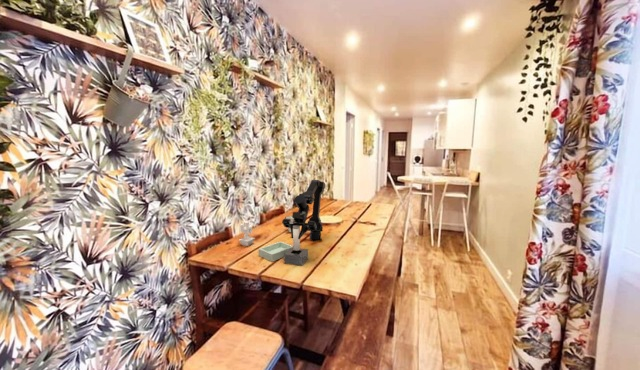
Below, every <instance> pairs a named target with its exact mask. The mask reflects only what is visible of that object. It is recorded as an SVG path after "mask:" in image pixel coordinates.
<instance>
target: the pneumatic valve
mask: <svg viewBox="0 0 640 370" xmlns="http://www.w3.org/2000/svg"><path fill="white" fill-rule="evenodd" d="M284 219H290V220H291V221H294V218H292V215H287V216H285V217H284ZM294 222H295V221H294ZM287 231H288V233H291V229H290V228H288V230H287Z"/></svg>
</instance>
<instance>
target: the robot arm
mask: <svg viewBox="0 0 640 370" xmlns="http://www.w3.org/2000/svg"><path fill="white" fill-rule="evenodd" d="M325 189H326V183H325V182H324V181H321V180H318V179H311V180H310V183H309V186H308V187H307V189H306V191H304V192H302V193H299V194H298V195H296V196H295V197H294V200H293V201H294V203H295V205H296V207H297V209H298V210H297V211H292V215H291V216H292V218H294V221H295V222H294V221H291V220H290V219H285V218H283V219H282V222H281V223H282V225H283V226H284V228H290V229H291V232H290V233H291V234H290V235H291V239H293V226H294V225H299V226H300V234H299V238H298V239H300V240H301V238H302V237H303V236H304V235H305V234H306V233H307V232H309V237H308V239H309V240H310V241H312V242H319V241H322V240H323V239H322V237H321V235H322V234H321V233H322V232H323V231H324V230H323V227H324V226H323V224H322V219H321V218H320V212H321V211H320V210H321V200H322V195H323V193H324V192H325ZM312 204H313V205H312ZM309 205H312V211H311V212H312V213H311V216H310V217H309V218H308V215H309V211H310V206H309ZM307 219H308V221H307ZM306 221H307V222H306Z"/></svg>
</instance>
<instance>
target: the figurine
mask: <svg viewBox="0 0 640 370" xmlns="http://www.w3.org/2000/svg"><path fill="white" fill-rule="evenodd" d="M239 227H240V233H241V234H242V233H244V235H243V236H244V237H242V238H239V239H238V241H239V243H240V244H241V246H245V247H249V246H250V245H252V244H253V242H254V241H255V239H256V238H255V237H252V236H250V234H253V226H252V225H251V224H250V222H249V221H247V220H244V221H243V223H240V226H239Z"/></svg>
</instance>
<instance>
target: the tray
mask: <svg viewBox="0 0 640 370" xmlns="http://www.w3.org/2000/svg"><path fill="white" fill-rule="evenodd" d="M291 247H292V248H293V244H292V245H291V244H288V243H286V242H283V241H278V242H275V243H271V244H269V245H265V246H263V247H260V248H258V256H259V257H261V258H263V259H265V260H268V261H270V262H275V261H277V260H279V259H282V258H283V259H284V254H285V253H286V252H287V251H288V250H289V249H290V248H291Z"/></svg>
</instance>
